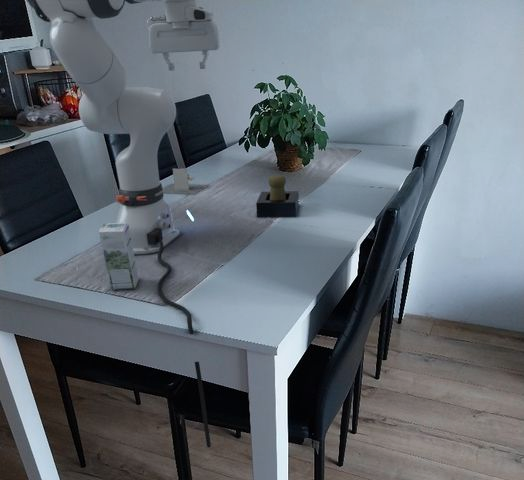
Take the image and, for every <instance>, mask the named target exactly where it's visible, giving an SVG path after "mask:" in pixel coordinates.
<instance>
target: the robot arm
mask: <svg viewBox="0 0 524 480" xmlns="http://www.w3.org/2000/svg"><path fill="white" fill-rule="evenodd" d="M26 1H27V3H28V5H30V7H31V8H32V9H34V12H35V15H36V16H37V17H38V18H39V19H40V20H42V21H44V22H46V23H50V30H49V42H50V45H51V47H52V49H53V51H54V54H55V56H56V57H57V59H58V60H59V62H60V64H61V66H62V67H63V68H64V70H65V71H66V73H67V74H68V75H69V76H70V77H71V79H72V80H73V81H74V83H76V85H77V86H78V87H79V89H80V90H81V91H82V93H83V94H82V95H81V97H80V99H79V102H78V116H79V118H80V120H81V122H82V124H83V126H84V127H85V128H86V129H87V130H88V131H90V132H94V133H99V134H105V135H124V134H125V135H129V139H130V142H129V145H128V146H127V147H126V148H123V150H121V151H120V152H119V153H118V154H117V156H116V158H115V163H114V164H115V168H116V174H117V179H118V184H119V185H118V186H119V187H118V194H117V195H116V196H115V197H116V198H115V200H116V202H117V204H119V209H118V211H117V212H118V213H117V216H116V220H115V223H128V225H129V230H130V236H131V241H132V247H133V253H134V255H147V254H155V253H157V261H158V263H160V264H161V265H162V266H164V267H165V268H167V270H166V272H165V273H164V274H163V275H162V276H161V278H160V279H159V280H158V283H157V293H158V296H159V298H160V299H161V300H162V301H163V302H164V303H165V304H167V305H169V306H171V307H173V308H175V309H178V310H179V311H182V312H183V313H184V314H185V316H186V322H187V329H188V334H189V335H194V328H193V321H192V320H193V319H192V318H193V317H192V314H191V313H190V311H189V310H188V309H187V308H186V307H185V306H183V305H181V304H180V303H177V302H174V301H172V300H170V299H168V297H166V296H165V295H164V292H163V283H164V282H165V281H166V279H168V277H169V276H170V274H171V272H172V266H171V265H170V264H169V263H167V262H165V261H164V260H163V259H162V255H163V252H164V248H165V247H166V246H167V245H169V244H170V243H171V242H172V241H174V240H175V239H176V238H177V237H179V236H180V234H181V233H180V232H181V231H180V230H179V229H177V228H175V224H174V220H173V219H174V218H173V215H172V214H173V213H172V210H171V206H170V205H169V203H167V202H166V201H165V199H164V193H163V189H164V188H163V185H162V183H161V181H160V173H159V163H158V153H159V147H160V144H161V142H162V140H163V138H164V136H165V135H166V133H168V131H169V130H171V128H172V127H173V125H174V123H175V121H176V118H177V117H176V116H177V107H176V102H175V101H174V99H173V97H172V95H171V94H170V92H169V91H167V89H162V88H157V87H153V86H152V87H151V86H136V87H135V86H134V87H132V86H131V87H126V86H127V73H126V70H125V67H124V65H123V64H122V63H121V61H120V60H119V59H118V57H117V55H116V53H114V51H113V49H112V48H111V46H110V44H108V42H107V40H106V38H104V37H103V36H102V34H101V33H100V32H99V30H97V28H96V26H95V22H94V20H93V18H98V19H100V20H102V19H103V20H104V19H105V20H106V19H111V18H115V17H117V16H119V14H120V13H121V11H122V10H123V8H124V6H125V4H126V3H128V4H130V5H134V4H141V3H147V2H160V1H162V0H26ZM163 8H164V14H163V15H151V16H150V17H149V18H148V19H147V20H146V29H147V30H146V31H147V33H148V45H149V50H150V53H152V54H154V55H155V54H162V58H163V60H164V61H165V63H166V64H167V68H168V69H167V70H168V71H170V72H172V71H175V70H176V68H175V63H174V62H171V60H170V56H171V55H170V54H172V53H191V52H201V53H202V56H203V58H202V61H199V62H198V63H199V69H200V70H206V69H207V60H208V58H209V51H217V50H219V48H220V47H221V41H220V34H219V29H218V25H217V23H216V22H215V21H214V12H213V11H212V10H209V9H206V8H203V7H201V6H197V0H163ZM186 214H187V215H188V217H189V218H190V220H191V221H192V222H194V221H195V219H194V217H193V216H192V214H191V212H190V211H189V210H188V209H187V210H186ZM194 368H195V374H196V379H197V387H198V393H199V399H200V407H201V414H202V415H201V416H202V421H203V422H202V423H203V427H204V435H205V443H206V448H211V447H212V444H211V438H210V437H211V436H210V430H209V421H208V415H207V407H206V400H205V392H204V385H203V378H202V371H201V365H200V361H194Z"/></svg>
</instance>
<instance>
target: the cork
mask: <svg viewBox="0 0 524 480" xmlns="http://www.w3.org/2000/svg"><path fill="white" fill-rule="evenodd" d="M286 183H287V180H286V177H285V175H283V174H274V175H271V176H269V178H268V185H269V186H270V191H269V192H270V200H286V195H285V191H286V190H285V185H286Z"/></svg>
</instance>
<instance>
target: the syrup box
mask: <svg viewBox="0 0 524 480" xmlns="http://www.w3.org/2000/svg"><path fill="white" fill-rule="evenodd" d="M98 235H99V240H100V244H101V248H102V252H103V259H104V263H105V267H106V272H107V275H108V280H109V284H110V289H111V291H119V290H120V291H121V290H134V289H136V287H137V284H138V282H139V273H138V268H137V264H136V259H135V254H134V253H133V247H132V241H131V236H130V230H129V225H128V223H116V222H114V223H103V224H102V225H101V227H100V229H99V231H98Z"/></svg>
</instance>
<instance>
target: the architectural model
mask: <svg viewBox="0 0 524 480" xmlns="http://www.w3.org/2000/svg"><path fill="white" fill-rule="evenodd" d="M172 175H173V182H174V183H171V184H169V185H168V186H166V187H164V188H163V194H181V195H196V194H198V193H199V192H201V191H203V190H204V189H205V188H208V185H203V184H202V185H200V184H189V181H190V182H192V181H193V180H195V179H196V177H192V176H190V175H189V174H188V169H187V168H184V167H182V168H172Z"/></svg>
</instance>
